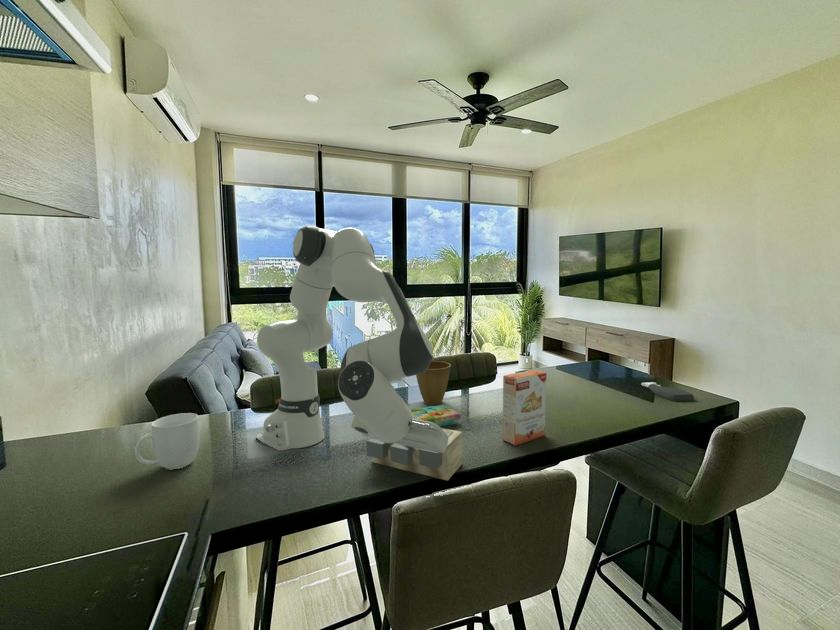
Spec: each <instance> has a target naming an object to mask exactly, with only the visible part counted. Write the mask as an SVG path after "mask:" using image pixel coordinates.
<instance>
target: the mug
mask: <svg viewBox="0 0 840 630" xmlns="http://www.w3.org/2000/svg"><path fill="white" fill-rule="evenodd" d="M199 420H200V419H199V415H198V414H197V413H192V412H187V413H185V412H184V413H183V412H181V413H176V414H169V415H166V416H162V417H160V418H157V419H155V420H154V421H152V423H151V425H150V426H151V432H150V433H146V434H144V435H142V436H141V437H140V438H139V439H138V441H137V442H136V443H135V444H136V445H135V448H134V455H135V457H136V459H137V461H138V462H139V463H141V464H144V465H149V466H150V465H160V466H161V467H162V468H163V467H165V468H175V467H181V466H184V465H187V464H189V463H190V462H192V461H193V460H195V458H196V456H197V454H198V451H199V447H200V433H201V432H200V423H199ZM146 439H147V440H148V439H151V440H152V445H153V451H154V452H153V453H154V454H155V458H156V459H154V460H148V459H145V458H143V456H142V455H141V453H140V447H141V444H142V443H143V442H144V441H145V440H146ZM193 462H194V461H193ZM193 462H192V463H193Z"/></svg>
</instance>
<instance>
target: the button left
mask: <svg viewBox="0 0 840 630" xmlns="http://www.w3.org/2000/svg"><path fill="white" fill-rule="evenodd" d="M366 456H368V457H371V458H372V457H375V458H379V459H384V458H385V457H386V456H388V443H385V442H382V441H380V440H377V439H372V438H368V440H366Z"/></svg>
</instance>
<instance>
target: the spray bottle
mask: <svg viewBox="0 0 840 630" xmlns="http://www.w3.org/2000/svg"><path fill="white" fill-rule="evenodd" d="M640 385H642V387H646V388H648V389H649V390H650V391H651V392H652V393H654V394H655V395H657V396H659V397H661V398H664V399H666V400H669V401H673V402H692V401H694V400H695V396H694V394H692V393H691V392H688V391H686V390H685V389H684V390H683V389H680V388H677V387H669V386H662V385H661V384H657V382H653V381H651V382H650V381H649V382H641V384H640Z"/></svg>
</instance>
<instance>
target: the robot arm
mask: <svg viewBox="0 0 840 630" xmlns="http://www.w3.org/2000/svg"><path fill="white" fill-rule="evenodd" d="M292 254H293V257H294V259H295V260H296V262H298V263H299V266H298V269H297V271H296V273H295V274H296V275H295V277H294V281H293V285H292V287H291V288H292V289H291V291H290V294H289V300H290V304H292V306H293V307H294V308H295V309H296V310H297V316H296V317H295V318H294V319H285V320H276V321H274V322H270V323H268V324H265V325H263V326H262V327H261V328H260V329H259V331H258V332H257V335H256V336H257V337H256V343H257V347H258V349H259V351H260V353H262V355H264V356H266V357H267V358H268V359H270V361H272V362H273V364H274V365H275V367H276V369H277V371H278V376H279V379H280V380H279V381H280V382H279V383H280V392H281V393H280V394H281V396H280V398H277V399H275V401H276V402H275V404H277V403H278V404H277V405H278V406H277V409H276V410H274V411H273V412H272V413H271V414H269V415H268V416H267V417H266V418H265V419H264V422H263V427H262V429H263V430H262V431H260V432H259V433H258V434H257V435H256V436H255V439H256V438H257V439H259V440H261V441H262V442H264V443H266V444H267V445H266V444H265V445H266V446H268V445H269V447H270V446H271V448H272V447H273V448H272V449H274V448H275V450H276V449H277V450H276V451H287V450H291V449H301V448H307V447H311V446H313V445H316V444H318V443H320V442H322V440H324V439H325V437H326V436H325V433H324V432H325V431H324V426H323V425H322V424H323V423H322V418H321V413H320V412H321V411H320V406H321V404H320V394H319V393H318V373H317V370H316V369H315V368H314V367H313V366H311V365H309V364H307V363H306V361H305V357H304V353H309V352H314V351H317V350H320V349H322V348H324V347H326V346H328V345H329V344H330V343H331V342H332V339H333V334H334V333H333V331H334V330H333V328H332V325H331V323H330V322H329V321H328V318H327V306H328V302H329V299H330V296H331V292H332V290H333V287H334V288H335V291H336V292H337V293H338V294H339V295H340V296H342V297H343V298H345V299H346V300H349V301H353V302H357V303H371V302H372V303H374V302H375V303H385V304H387V305H388V307H389V309H390V312H391V313H392V316H393V319H394V321H395V322H396V324H397V326H396V328H395V329H394V330H392V331H390V332H388V333H384V334H381V335H379V336H377V337H376V336H375V337H373V338H370V339H367V340H364V341H362V342H359V343H356V344H354V345H352V346H349V347H348V348H347V349H346V351H345V352H344V355H343V358H342V360H341V362H340V368H339V369H340V371H339V372H340V374H339V376H338V380H337V387H338V390H339V394H340V396H341V399H343V401H344V403H345V404H346V406H347V407H348V410H349V411H351V413H352V414H353V415H354V417H352V418H353V419H352V420H351V421H352V422H351V424H350V427H351V428H352V429H353V430H354V431H356V432H358V433H360V434H361V435H362V436H364V437H366V438H367V439H371V438H372V439H377V440H380V441H382V442H385V443H396V444H401V445H403V446H404V447H405V448H406V449H411V450H416V451H418V450H419V448H420V449H425V450H429V451H434V452H439V453H443V452H444V451H445V450H446V447H447V444H448V439H449V438H448V435H447V434H446V433H445V432H444V431H443V430H442V429H441V428H442V427H441V426H438V425H437V424H435V423H432V422H429V421H423V420H417V419H413V415H412V412H411V410H412V409H410V407H409V405H408V404H407V403H406V402H405V401H404V398H402V397H401V395H400V394H398V393H397V390H396V388H395V387H394V385H393V384H392V382H394V381H397V380H401V379H404V378H406V377H407V378H409V377H413V376H416V375H418V374H422V373H424V372H425V371H426V370H427V368H428V367H429V365H430V363H431V361H433V359H434V351H433V348H432V347H433V346H432V344H431V342H430V340H429V338H428V336H427V335H426V333H425V332H424V330H423V329H422V328H421V327H420V324H419V323H418V321H417V319H416V317H415V315H414V312H413V311H412V309H411V306H410V305H409V303H408V301H407V299H406V297H405V295H404V293H403V291H402V289H401V287H400V285H399V284H398V282H397V280H396V278H395V277H394V275H393V274H392V273H391V272H390V271H389V270H385V269H381V268H380V267H378V264H377V260H376V257H375V250H374V246H373V245H372V244H371V243H370V240H369V239H368V237H367V236H366V234H365V233H364V232H363V231H362V230H360V229H358V228H355V227H345V228H342V229H340V230H338V231H335V230H331V229H326V228H320V227H318V226H316V225H315V226H314V225H304V226H303V227H301V228H299V229H298V230H297V233H296V234H295V237H294V239H293V241H292ZM262 442H261V443H262ZM264 443H263V444H264Z"/></svg>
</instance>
